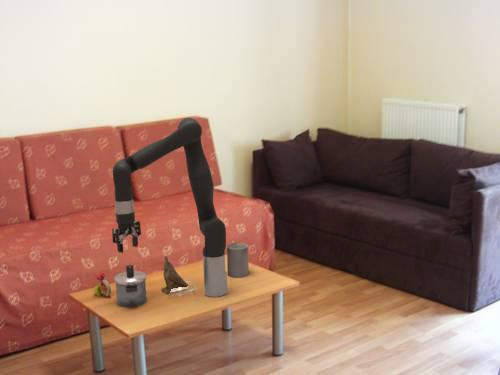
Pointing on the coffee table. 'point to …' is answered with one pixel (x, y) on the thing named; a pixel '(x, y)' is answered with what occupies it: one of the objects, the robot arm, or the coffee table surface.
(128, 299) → the cooker pot
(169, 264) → the worn brown figurine
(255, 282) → the coffee table surface
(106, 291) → the bird rattle
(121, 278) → the cooker lid
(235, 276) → the pillar candle
